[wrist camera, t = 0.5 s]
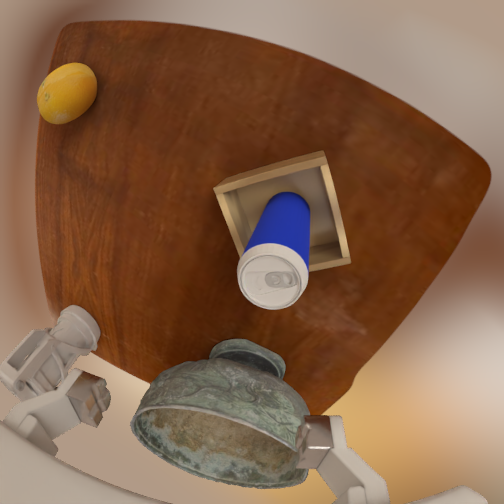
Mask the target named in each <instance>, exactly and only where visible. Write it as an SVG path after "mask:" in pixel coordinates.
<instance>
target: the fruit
mask: <svg viewBox="0 0 504 504" xmlns="http://www.w3.org/2000/svg"><path fill="white" fill-rule="evenodd" d="M96 95H97V80H96V77H95V75H94V73H93V71H92V70H91V69H90V68H89V67H88V66H86V65H84V64H82V63H70V64H66V65H63V66H61V67H59V68H57V69H56V70H54V71H53V72H52V73H50V74H49V75H48V76H47V77H46V79H45V80H44V81H43V83H42V84H41V86H40V88H39V91H38V95H37V104H38V108H39V111H40V113H41V115H42V117H43V118H44V119H45V120H46V121H48V122H49V123H52V124H63V123H67V122H70V121H72V120H74V119H76V118H78V117H79V116H81V115H82V114H83V113H84V112H85V111H86V110H87V109H88V108H89V107H90V106H91V105H92V104H93V102H94V100H95V98H96Z"/></svg>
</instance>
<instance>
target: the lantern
mask: <svg viewBox="0 0 504 504" xmlns="http://www.w3.org/2000/svg"><path fill="white" fill-rule="evenodd" d="M99 337H100V329H99V327H98V325H97V323H96V321H95V320H94V319H93V317H92V316H91V315H90V314H89V313H88V312H87V311H85V310H84V309H83V308H81V307H79V306H76V305H71V306H69V307H67V308H65V309H64V310H63V311H62V312H61V314H60V317H59V319H58V324H57V325H56V326H55V327H54V328H45V329H44V330H43V329H36V330H32V331H31V332H30V333H29V334H28V335H27V336H26V337H25V338H24V339H23V340H22V341H21V342H20V343H19V344H18V346H17V347H16V348H15V349H14V350H13V351H12V352H11V353H10V354H9V356H8V357H7V358H6V359H5V360H4V361H3V363H2V364H1V365H0V380H1V382H2V383H3V384H4V385H5V386H6V388H7V389H8V390H9V391H10V392H11V393H12V394H14V395H15V396H16V397H17V398H18V399H19V400H20V401H22V402H23V401H26V400H28V399H31V398H34V397H36V396H39V395H41V394H44V393H46V392H49V391H51V390H57V389H58V387H56V386H57V385H58V384H59V382H60V381H61V379H62V382H63V381H64V379H65V378H66V377H67V376H68V370H69V369H70V367H71V366H72V365H73V364H74V362H75V361H76V360H77V358H78V357H79V356H80V355H83V356H85V355H88V354H89V353H90V352H91V350H94V351H95V350H96V349H97V342H98V340H99ZM36 346H37V347H36ZM35 347H36V348H35ZM28 354H29V356H28V357H27V358H26V359H25V357H26V356H27V355H28ZM24 359H25V360H24Z"/></svg>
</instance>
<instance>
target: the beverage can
mask: <svg viewBox="0 0 504 504" xmlns="http://www.w3.org/2000/svg"><path fill="white" fill-rule="evenodd" d="M309 247H310V208H309V205H308V203H307V202H306V200H305V199H304V198H303V197H302V196H300V195H298V194H297V193H294V192H281V193H278V194H276V195H274V196H273V197H272V198H271V199H270V200H269V201H268V203H267V205H266V207H265V209H264V211H263V213H262V215H261V217H260V219H259V221H258V223H257V225H256V228H255V230H254V232H253V234H252V236H251V238H250V240H249V242H248V244H247V246H246V248H245V250H244V252H243V254H242V256H241V258H240V261H239V263H238V267H237V277H238V283H239V287H240V289H241V291H242V293H243V294H244V296H245V297H246V298H247V299H248V300H249V301H250V302H252V303H253V304H255V305H257V306H259V307H262V308H265V309H273V310H274V309H282V308H286V307H288V306H290V305H292V304H293V303H294V302H295V301H296V300H297V299H298V298H299V297H300V295H301V294H302V293H303V291H304V290H305V288H306V286H307V282H308V272H309Z"/></svg>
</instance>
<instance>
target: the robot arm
mask: <svg viewBox="0 0 504 504" xmlns="http://www.w3.org/2000/svg"><path fill="white" fill-rule="evenodd" d="M110 400H111V396H110V393H109V390H108V389H107V388H106V381H105V379H103V378H101V377H98V376H95V375H92V374H90V373H87V372H85V371H82V370H80V369H77V368H74V369H73V370H72V371H71V372H70V373H69V374H68V376H67V377H66V378H65V379H64V381H63V382H62V383H61V385H60V386H59V387H58V389H57V390H51V391H49V392H46V393H44V394H41V395H39V396H36V397H34V398H31V399H28V400H26V401H23V402H21V403H18V404H16V405H15V406H14V407H13V408H12V410H11V411H10V412H9V414H8V415H7V416H6V418H5V419H4V420H3V421H0V504H171V503H167V502H163V501H160V500H156V499H153V498H149V497H146V496H143V495H140V494H137V493H134V492H131V491H128V490H125V489H122V488H120V487H118V486H114V485H112V484H110V483H107V482H105V481H103V480H100V479H98V478H96V477H93V476H91V475H89V474H87V473H85V472H83V471H81V470H79V469H76V468H75V467H73V466H71V465H69V464H67V463H65V462H63V461H61V460H59V459H58V458H56V457H55V455H56V453H57V452H58V448H57V446H56V445H55V444H54V442H53V441H52V440H53V439H55V438H56V437H58V436H60V435H61V434H63V433H65V432H66V431H68V430H70V429H71V428H73V427H75V426H76V425H78V424H80V423H81V422H83V423H86V424H88V425H91V426H93V427H96V428H97V426H98V425H99V423H100V421H101V420H102V418H103V416H102V412H104V411H106V410H107V409H108V407H109V405H110ZM295 447H296V448H297V449H298V451H297V453H296V455H295V456H296V468H299V469H316V470H317V471H318V473H319V474H320V475H321V477H322V478H323V479H324V481H325V482H326V484H327V485H328V486H329V487H330V489H331V490H332V491H333V493H334V494H335V495H336V497H337V498H338V499H337V500H336V501H334V502H333V503H332V504H390V500H389V495H388V490H387V485H386V481H385V480H384V479H383V478H382V477H380V475H378V474H377V473H376V472H375V471H374V470H373V469H372V468H371V467H370V466H369V465H368V464H367V463H366V462H365V461H364V460H363V459H362V458H361V457H360V456H359V455H358V454H357V453H356V452H355V451H354V450H353V449H352V448H347V443H346V437H345V431H344V427H343V421H342V417H341V416H327V415H303V416H302V419H301V425H300V426H298V428H297V432H296V437H295ZM405 504H488V503H487V500H486V499H485V498H484V497H483V496H482V495H480V494H479V493H477V492H476V491H474V490H472V489H471V488H469V487H467V486H464V485H461V486H457V487H455V488H452V489H450V490H447V491H444V492H441V493H438V494H436V495H433V496H429V497H426V498H423V499H420V500H416V501H413V502H409V503H405Z"/></svg>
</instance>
